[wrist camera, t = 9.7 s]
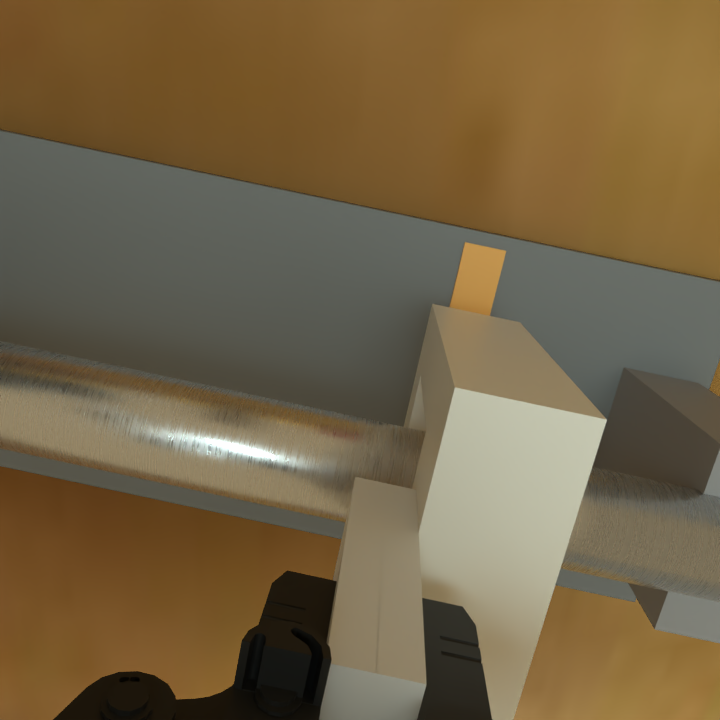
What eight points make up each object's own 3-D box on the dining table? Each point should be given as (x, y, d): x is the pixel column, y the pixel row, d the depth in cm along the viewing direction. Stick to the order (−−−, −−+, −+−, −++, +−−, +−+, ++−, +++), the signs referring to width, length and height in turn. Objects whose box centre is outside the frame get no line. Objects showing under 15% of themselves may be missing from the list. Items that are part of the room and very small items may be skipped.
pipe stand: (-147, 417, 31) (-393, 520, 22) (-141, 99, 28) (-433, 50, 18) (624, 582, 31) (725, 761, 21) (726, 282, 27) (903, 332, 18)
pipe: (-288, 359, 22) (-402, 387, 19) (-292, 260, 21) (-412, 273, 18) (696, 569, 21) (746, 634, 18) (730, 478, 21) (788, 529, 18)
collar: (377, 540, 25) (361, 760, 15) (432, 303, 23) (455, 387, 13) (456, 557, 25) (491, 788, 15) (519, 322, 23) (606, 420, 13)
